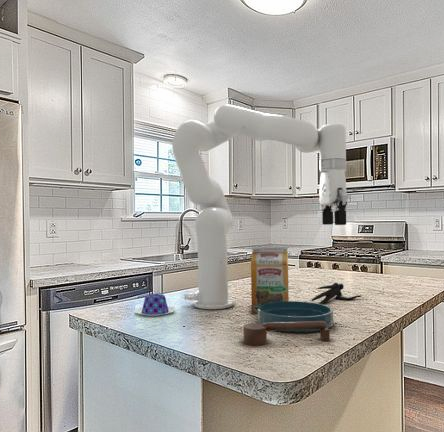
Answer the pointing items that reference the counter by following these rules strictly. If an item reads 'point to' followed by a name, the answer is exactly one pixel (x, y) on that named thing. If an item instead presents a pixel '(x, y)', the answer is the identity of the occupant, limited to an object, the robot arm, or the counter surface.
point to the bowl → (295, 313)
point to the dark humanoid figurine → (333, 293)
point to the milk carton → (269, 276)
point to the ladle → (258, 332)
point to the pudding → (155, 306)
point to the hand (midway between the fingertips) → (333, 224)
